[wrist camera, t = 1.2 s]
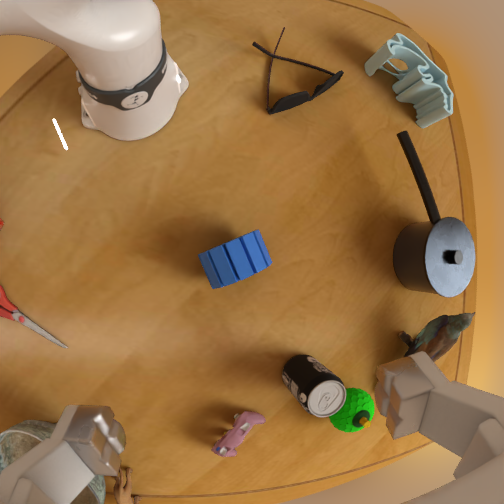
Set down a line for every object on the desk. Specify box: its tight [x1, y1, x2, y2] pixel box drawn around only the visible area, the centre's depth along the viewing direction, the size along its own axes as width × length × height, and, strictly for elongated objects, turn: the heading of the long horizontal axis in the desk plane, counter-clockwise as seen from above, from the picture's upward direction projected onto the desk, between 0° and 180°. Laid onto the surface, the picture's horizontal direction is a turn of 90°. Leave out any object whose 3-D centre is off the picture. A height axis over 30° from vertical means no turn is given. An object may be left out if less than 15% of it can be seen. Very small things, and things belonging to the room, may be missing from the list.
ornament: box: [329, 388, 374, 432], centre depth 48 cm, size 8×8×10 cm
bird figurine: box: [398, 312, 475, 362], centre depth 50 cm, size 13×10×20 cm
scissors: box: [0, 285, 68, 348], centre depth 42 cm, size 8×21×2 cm, turn 77°
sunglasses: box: [252, 27, 344, 115], centre depth 49 cm, size 17×14×5 cm
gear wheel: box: [198, 230, 272, 289], centre depth 45 cm, size 5×9×9 cm, turn 113°
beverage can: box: [282, 355, 346, 417], centre depth 45 cm, size 7×7×12 cm
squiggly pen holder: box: [364, 33, 454, 128], centre depth 51 cm, size 18×10×9 cm, turn 57°
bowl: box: [0, 420, 106, 504], centre depth 36 cm, size 20×19×15 cm
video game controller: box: [211, 411, 266, 457], centre depth 46 cm, size 10×5×7 cm, turn 143°
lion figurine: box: [114, 468, 142, 504], centre depth 41 cm, size 15×5×9 cm, turn 11°
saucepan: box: [393, 131, 475, 297], centre depth 50 cm, size 29×14×11 cm, turn 23°
